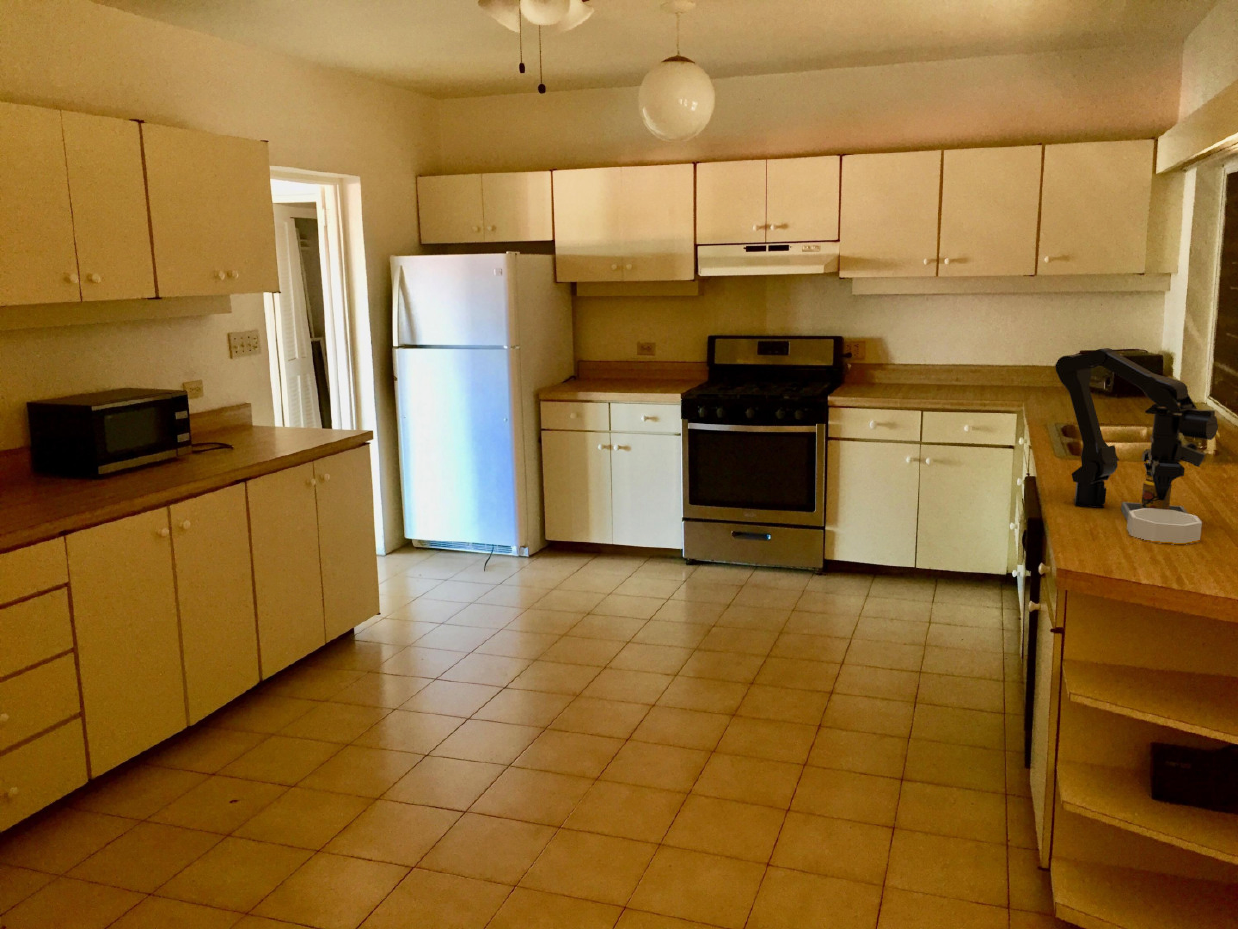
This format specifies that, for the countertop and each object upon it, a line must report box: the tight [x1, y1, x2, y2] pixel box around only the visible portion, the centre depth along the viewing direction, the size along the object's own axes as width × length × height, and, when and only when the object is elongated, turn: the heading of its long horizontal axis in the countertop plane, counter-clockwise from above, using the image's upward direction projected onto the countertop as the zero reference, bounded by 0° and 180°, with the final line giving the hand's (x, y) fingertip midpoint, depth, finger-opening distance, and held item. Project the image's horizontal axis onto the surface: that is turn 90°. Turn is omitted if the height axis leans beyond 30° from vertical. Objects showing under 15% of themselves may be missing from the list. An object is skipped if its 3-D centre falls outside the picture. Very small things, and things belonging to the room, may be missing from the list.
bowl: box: [1126, 508, 1203, 543], centre depth 224 cm, size 14×14×4 cm
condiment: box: [1141, 469, 1173, 510], centre depth 238 cm, size 7×8×12 cm
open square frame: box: [1120, 501, 1190, 522], centre depth 238 cm, size 14×14×2 cm
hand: (1158, 497), depth 237 cm, fingers closed on condiment, 6 cm apart
